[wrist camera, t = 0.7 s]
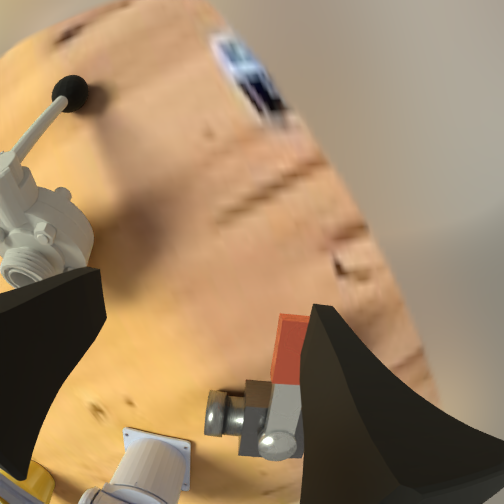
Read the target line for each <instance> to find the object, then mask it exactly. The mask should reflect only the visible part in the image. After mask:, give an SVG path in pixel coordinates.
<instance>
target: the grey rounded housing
mask: <svg viewBox="0 0 504 504" xmlns="http://www.w3.org/2000/svg"><path fill="white" fill-rule="evenodd" d="M87 97H88V85H87V83H86V82H85V80H84V79H83V78H81V77H80V76H77V75H69V76H66V77H64V78H63V79H61V80H60V81H59V82H58V83H57V84H56V85H55V87H54V89H53V92H52V102H53V103H52V104H51V105H50V106H49V107H48V108H47V109H46V110H45V111H44V112H43V113H42V114H41V115H40V116H39V117H38V119H37V120H36V121H35V122H34V123H33V124H32V125H31V126H30V128H29V129H28V130H27V131H26V132H25V133H24V135H23V136H22V137H21V138H20V139H19V141H18V142H17V143H16V144H15V146H14V147H13V148H12V149H11V151H8V152H5V153H4V151H2V152H1V153H0V256H1V257H2V258H3V260H2V263H1V265H0V272H1V274H2V276H3V278H4V279H5V280H6V281H7V282H8V283H9V284H10V285H11V286H12V287H14V288H15V289H17V288H20V287H23V286H26V285H29V284H32V283H35V282H38V281H41V280H43V279H46V278H49V277H52V276H55V275H58V274H61V273H64V272H67V271H70V270H73V269H77V268H81V267H87V264H88V260H89V257H90V254H91V250H92V247H93V244H94V234H93V230H92V227H91V225H90V223H89V221H88V220H87V218H86V217H85V215H84V214H83V213H82V212H81V211H80V210H79V209H78V208H77V207H76V206H75V205H74V204H73V203H72V202H70V200H71V198H72V196H71V193H70V191H69V190H68V189H66V188H63V187H59V188H57V189H56V190H55V192H53V191H51V190H48V189H46V188H42V187H37V185H36V183H35V180H34V178H33V176H32V174H31V171H30V169H29V168H27V167H24V166H21V164H20V163H21V162H22V161H23V159H24V158H25V156H26V155H27V154H28V152H29V151H30V150H31V148H32V147H33V146H34V144H35V143H36V142H37V141H38V139H39V138H40V137H41V136H42V134H43V133H44V132H45V131H46V129H47V128H48V127H49V126H50V125H51V123H52V122H53V121H54V120H55V119H56V118H57V116H58V115H59V114H60V113H61V112H65V113H70V112H73V111H75V110H77V109H79V108H80V107H82V105H83V104H84V103H85V101H86V99H87Z"/></svg>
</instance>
